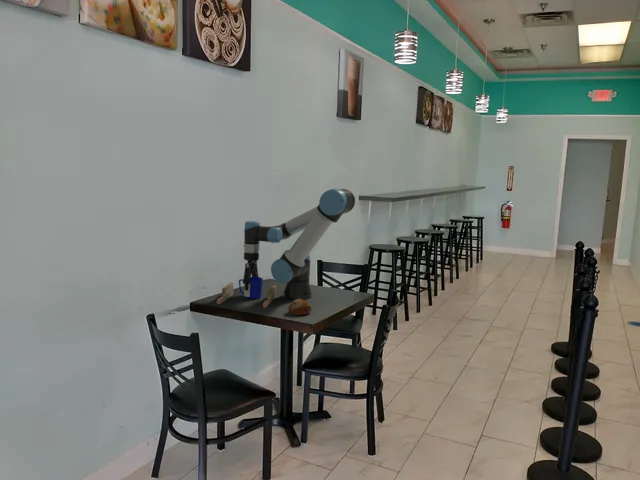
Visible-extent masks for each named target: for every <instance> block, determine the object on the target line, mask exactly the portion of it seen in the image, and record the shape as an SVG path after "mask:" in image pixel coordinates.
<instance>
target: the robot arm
mask: <svg viewBox="0 0 640 480" xmlns="http://www.w3.org/2000/svg"><path fill="white" fill-rule="evenodd" d="M318 201H319V202H318V203H319V204H318V205H317V206H315V207H314V208H312V209H310V210H307V211H306V212H304V213H301V214H300V215H297V216H295V217H293V218H292V219H289V220H287V221H285V222H284V223H281V224H279V225H273V226H265V225H264V226H263V225H261V222H260V221H256V220H248V221H245V223H244V229H243V230H244V237H243V239H244V242H243V243H244V244H242V245H243V246H242V247H243V250H244V252H243V259H244V260H245V261H247V262H246V263H245V264H244V266H245V267H244V272H243V273H244V274H243V278H242V279H243V281H242V284H243V285H244V286H243V288H244V289H243V293H244V294H243V297H247V298H248V297H250V278H251V277H259V272H258V271H259V270H258V261H259V260H260V252H259V251H260V242H266V243H271V244H275V243H277V244H279V243H280V242H281V241H283V240H286V239H289V238H291V236H293V235H296V234H298V233H300V232H302V233H301V234H300V235H299V236H298V238H297V239H296V241H295V242H294V243H293V245H292V246H291V247H290V249H286V250H285V251H284V252H283V253H282V255H281V256H280V257H279V258H278V259H276V260H274V261H273V262H272V264H271V266H270V273H271V275H272V277H273V279H274V280H275V281H276V282H278V283H281V284H285V285H284V289H283V292H282V297H283V299H286V300H289V301H290V300H291V301H294V300H296V299H302V300H305V301H307V299H308V300H310V298H311V299H312V298H313V292H312V288H311V284H310V277H311V276H310V275H311V273H310V272H311V271H310V270H311V255H310V253H311V252H312V250H313V249H314V248H315V246H316V245H317V244H318V243H319V241H320V240H321V238H322V237H323V236H324V235H325V233H326V232H327V230H329V228H330V226H331V225H332V224H333V223H337V222H338V221H339V219H340V218H341V217H342V216H343V214H344V215H345V214H347V213H349V212H351V211H352V210H353V209H354V207H355V204H356V198H355V195H354V193H353V192H352V191H350V189H346V188H330V189H328V190H326V191H324V192H323V193H322V194H321V196H320V198H319V200H318Z"/></svg>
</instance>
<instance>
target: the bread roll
mask: <svg viewBox="0 0 640 480" xmlns="http://www.w3.org/2000/svg"><path fill="white" fill-rule="evenodd" d="M312 311H313V309H312V305H311V303H309V302H308V301H307V300H302V299H296V300H292V301H291V302H290V303H289V306H288V313H289V314H290V315H291V316H303V315H309V313H311V312H312Z"/></svg>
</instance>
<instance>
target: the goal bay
mask: <svg viewBox="0 0 640 480" xmlns="http://www.w3.org/2000/svg"><path fill="white" fill-rule="evenodd" d="M224 302H225V300H224V297H222V296H220V297H219V298H217V299H216V305H221V304H222V303H224ZM269 305H270V303H269V300H267V299H266V300H264V302H263V303H262V308H268V306H269Z"/></svg>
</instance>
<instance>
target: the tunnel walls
mask: <svg viewBox="0 0 640 480" xmlns="http://www.w3.org/2000/svg"><path fill="white" fill-rule="evenodd" d="M233 295H234V282H229V283H228V284H226V285H225V286H223V287H222V288H221V297H224V301H226V300H228V299H229V298H230V297H232V296H233ZM276 296H277V285H275V284H274V285H272V286H271V287H270V288H269V289H268V290H267V291H266V300H269V304H271V302H273V300H274V299H275V298H276Z"/></svg>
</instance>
